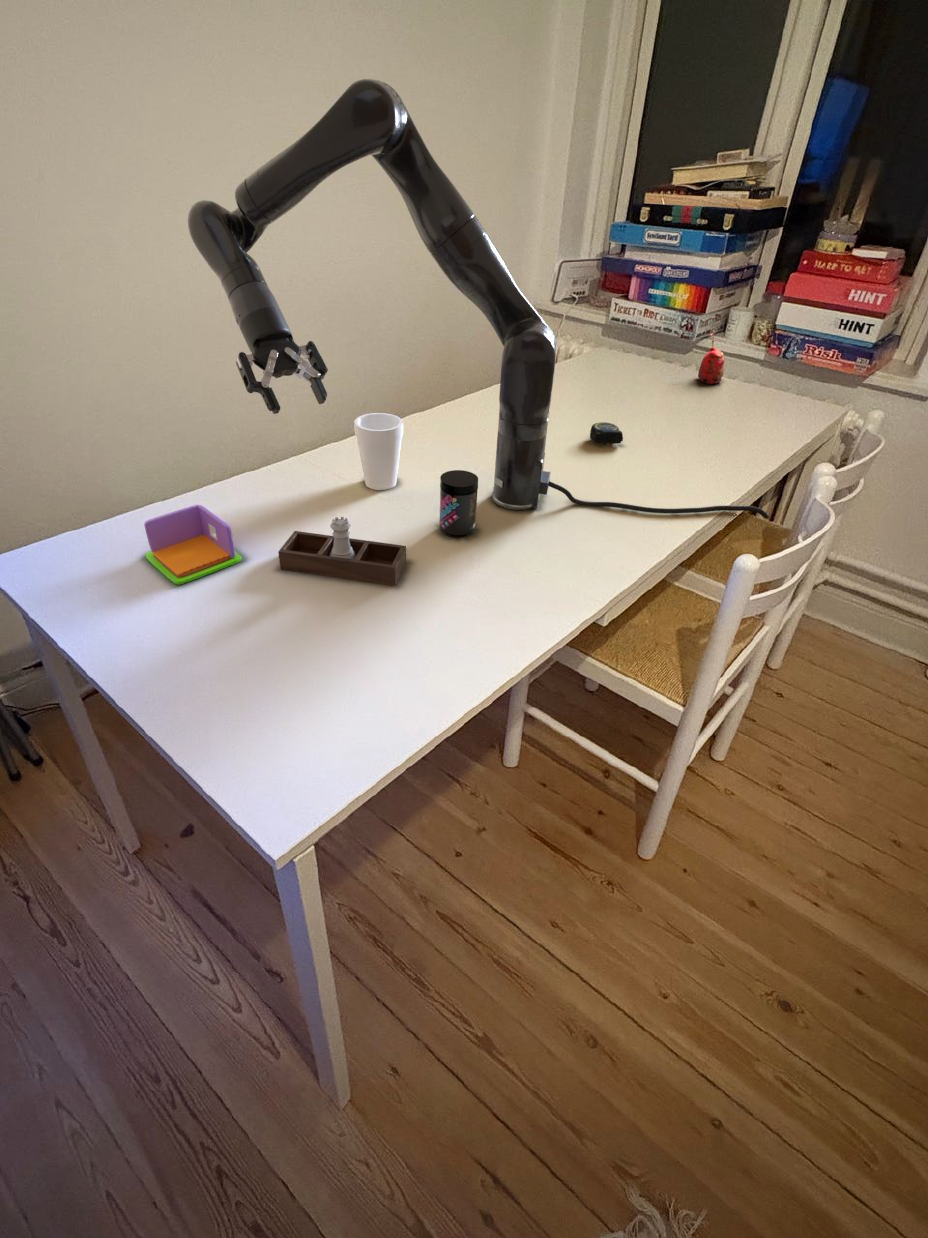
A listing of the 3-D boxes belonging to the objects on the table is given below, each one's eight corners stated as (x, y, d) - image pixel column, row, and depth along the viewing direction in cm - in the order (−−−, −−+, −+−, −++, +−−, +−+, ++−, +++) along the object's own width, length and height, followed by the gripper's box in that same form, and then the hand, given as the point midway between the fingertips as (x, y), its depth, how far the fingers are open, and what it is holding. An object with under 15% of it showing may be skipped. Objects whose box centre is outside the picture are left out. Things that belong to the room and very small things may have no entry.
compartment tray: (296, 548, 120) (294, 530, 118) (406, 563, 118) (406, 545, 116) (280, 569, 115) (278, 551, 113) (395, 586, 112) (395, 567, 110)
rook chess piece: (361, 558, 117) (358, 516, 112) (349, 572, 114) (346, 529, 109) (337, 553, 118) (334, 511, 114) (324, 566, 115) (320, 523, 110)
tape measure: (593, 447, 162) (596, 432, 159) (585, 436, 167) (588, 421, 165) (621, 447, 162) (624, 432, 160) (612, 436, 168) (615, 421, 166)
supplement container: (440, 519, 131) (442, 468, 124) (476, 522, 130) (479, 471, 124) (437, 537, 125) (438, 485, 119) (474, 540, 125) (477, 488, 119)
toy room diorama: (209, 533, 123) (202, 498, 119) (244, 560, 117) (238, 524, 112) (143, 556, 116) (133, 520, 112) (176, 586, 110) (167, 549, 105)
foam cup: (396, 496, 138) (394, 433, 130) (351, 490, 139) (347, 427, 131) (408, 476, 145) (408, 415, 137) (366, 470, 146) (363, 410, 139)
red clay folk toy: (716, 386, 202) (730, 332, 193) (692, 381, 205) (705, 328, 196) (723, 380, 207) (737, 327, 198) (700, 375, 210) (713, 323, 201)
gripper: (223, 310, 109) (266, 403, 109) (304, 300, 117) (344, 387, 117) (215, 337, 115) (256, 425, 115) (292, 326, 123) (330, 409, 123)
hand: (300, 406), depth 116 cm, fingers open, 8 cm apart
